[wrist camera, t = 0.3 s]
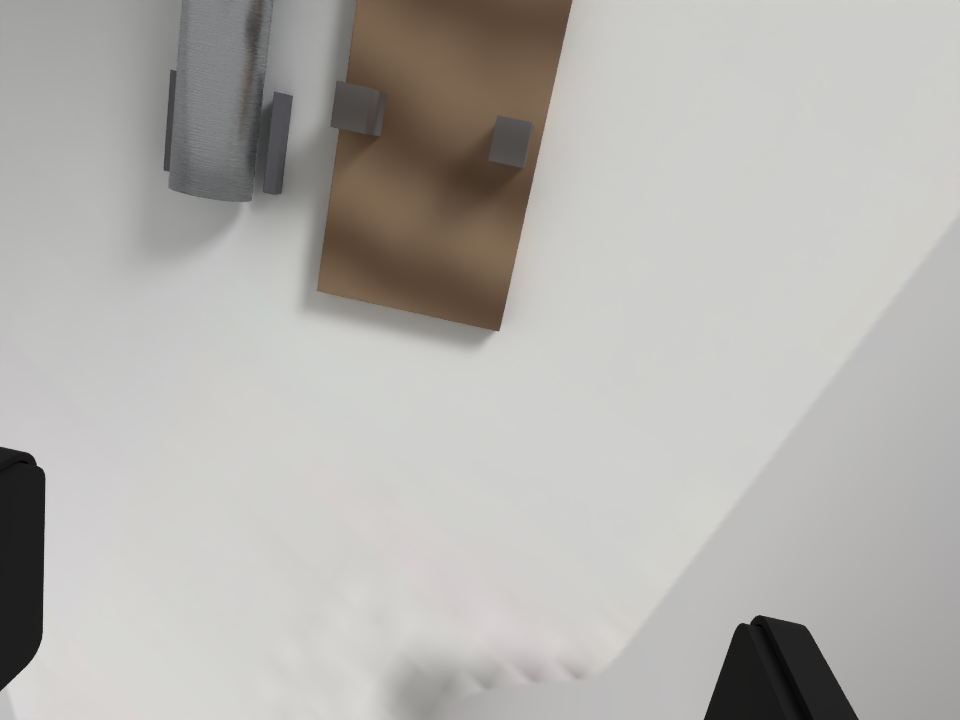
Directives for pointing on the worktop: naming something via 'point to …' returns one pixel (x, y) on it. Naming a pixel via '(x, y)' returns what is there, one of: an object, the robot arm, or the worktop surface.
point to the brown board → (438, 152)
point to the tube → (219, 97)
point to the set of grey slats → (275, 145)
